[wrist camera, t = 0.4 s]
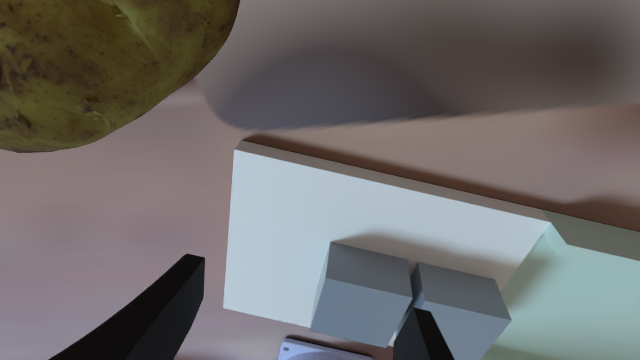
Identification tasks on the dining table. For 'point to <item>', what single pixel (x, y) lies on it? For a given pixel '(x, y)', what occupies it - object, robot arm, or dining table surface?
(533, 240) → the board
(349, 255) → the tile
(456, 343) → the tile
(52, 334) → the dining table surface
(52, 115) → the avocado
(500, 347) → the tray
